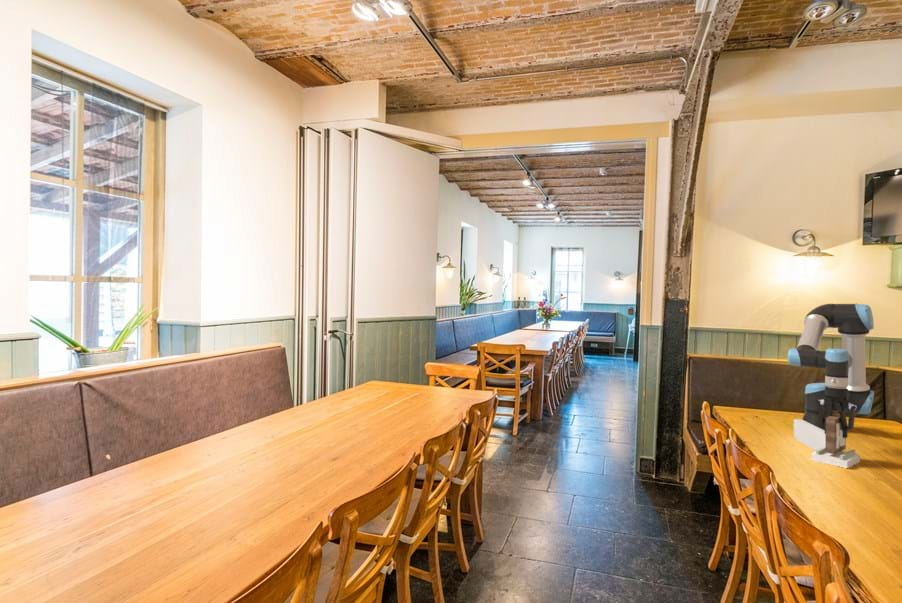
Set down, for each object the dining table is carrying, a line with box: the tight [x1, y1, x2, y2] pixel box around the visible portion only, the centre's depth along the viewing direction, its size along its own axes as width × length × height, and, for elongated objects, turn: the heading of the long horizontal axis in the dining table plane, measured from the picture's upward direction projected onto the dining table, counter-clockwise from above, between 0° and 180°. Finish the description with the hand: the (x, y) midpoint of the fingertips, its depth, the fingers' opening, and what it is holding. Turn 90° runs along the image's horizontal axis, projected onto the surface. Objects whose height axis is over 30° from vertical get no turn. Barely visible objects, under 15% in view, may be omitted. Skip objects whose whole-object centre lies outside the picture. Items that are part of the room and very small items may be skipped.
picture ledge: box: [810, 446, 861, 469], centre depth 201 cm, size 14×12×4 cm
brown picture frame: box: [825, 413, 847, 454], centre depth 201 cm, size 12×4×14 cm, turn 125°
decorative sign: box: [791, 418, 826, 452], centre depth 222 cm, size 32×4×10 cm, turn 169°
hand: (835, 444), depth 201 cm, fingers closed on brown picture frame, 3 cm apart
